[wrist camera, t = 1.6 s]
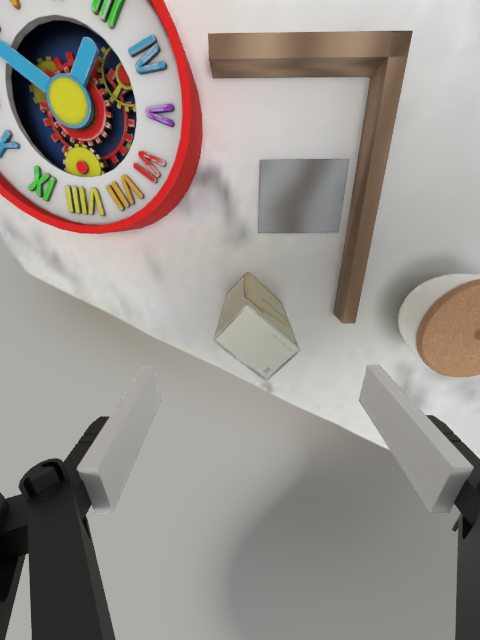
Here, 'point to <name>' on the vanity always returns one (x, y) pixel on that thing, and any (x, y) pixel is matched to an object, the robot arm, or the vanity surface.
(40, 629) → the robot arm
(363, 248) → the walnut l-shaped corner bracket
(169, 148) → the toy clock
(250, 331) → the skincare box
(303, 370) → the vanity surface
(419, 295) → the lidded jar
